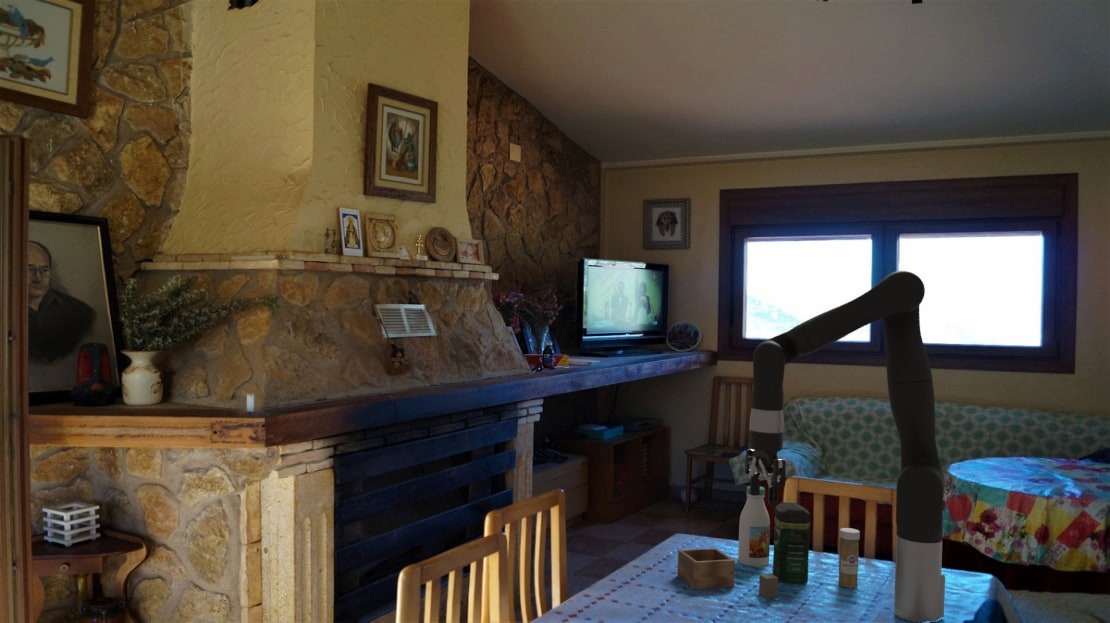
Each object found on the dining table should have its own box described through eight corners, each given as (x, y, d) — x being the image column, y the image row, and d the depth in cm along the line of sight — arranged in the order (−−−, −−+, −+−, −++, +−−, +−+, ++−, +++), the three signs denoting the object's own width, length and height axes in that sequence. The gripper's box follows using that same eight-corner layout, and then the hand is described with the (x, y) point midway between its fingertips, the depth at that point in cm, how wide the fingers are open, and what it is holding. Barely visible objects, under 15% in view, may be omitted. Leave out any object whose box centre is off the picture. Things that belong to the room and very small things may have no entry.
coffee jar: (811, 587, 205) (814, 509, 205) (777, 586, 205) (780, 508, 205) (801, 574, 214) (804, 500, 214) (769, 573, 215) (772, 499, 215)
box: (715, 576, 211) (716, 548, 211) (733, 590, 202) (734, 560, 202) (677, 578, 209) (678, 550, 209) (694, 592, 199) (695, 562, 199)
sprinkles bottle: (845, 589, 204) (847, 532, 204) (834, 583, 209) (835, 527, 208) (862, 587, 206) (863, 531, 205) (850, 581, 210) (851, 526, 210)
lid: (777, 592, 203) (777, 567, 203) (801, 608, 192) (802, 582, 192) (735, 595, 200) (736, 570, 200) (758, 611, 190) (759, 585, 190)
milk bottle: (736, 567, 219) (739, 488, 219) (739, 558, 226) (741, 482, 226) (768, 570, 217) (770, 491, 217) (769, 562, 224) (772, 485, 224)
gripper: (797, 433, 191) (794, 506, 191) (765, 423, 204) (763, 492, 205) (767, 433, 189) (764, 507, 189) (736, 423, 202) (734, 492, 203)
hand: (763, 499), depth 197 cm, fingers open, 8 cm apart
